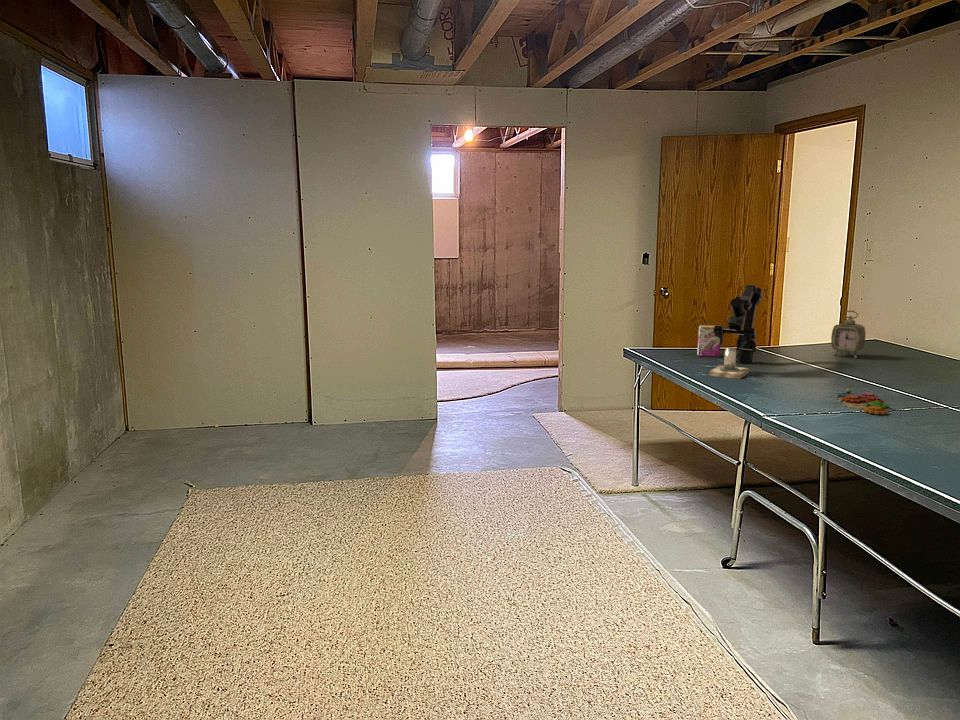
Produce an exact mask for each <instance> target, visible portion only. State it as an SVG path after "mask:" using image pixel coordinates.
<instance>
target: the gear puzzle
mask: <svg viewBox="0 0 960 720" xmlns="http://www.w3.org/2000/svg"><path fill="white" fill-rule="evenodd" d="M851 392H852V390H851V389H850V388H847V389H846V390H845V392H838V393H837V395H835V396H834V398H835V399H839V400H837V401H838V402H839V403H843V404H842V406H843V407H844V408H846V407H847V408H848V409H850V410H851V409H853V410H855V409H856V410H859V411H864V413H868V414H874V415H885V414H886V415H888V414H889V412H888V411H891V409H890V405H889V404H887V403H885V401H884V400H883V399H880V397H879V396H878V395H875V394H874V392H873V393H872V392H869V391H867V392H866V391H864V392H861V393H858V394H856V393H851Z"/></svg>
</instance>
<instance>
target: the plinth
mask: <svg viewBox="0 0 960 720" xmlns="http://www.w3.org/2000/svg"><path fill="white" fill-rule="evenodd" d="M749 371H750V368H749V367H739V366H735V369H734V370H727V369H724V365H717V366H716V367H714V368H712V369H711V370H710V371H708V376H709V377H718V378H729V379H734V380H735V379H737V380H740V379H741V378H743V377H744V376H746V375H747V374H748V373H749Z"/></svg>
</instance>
